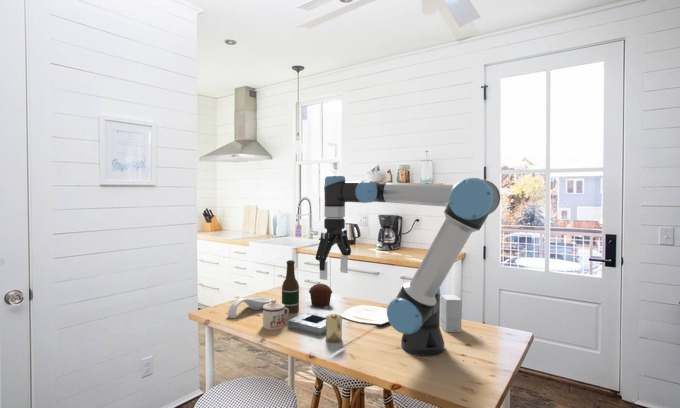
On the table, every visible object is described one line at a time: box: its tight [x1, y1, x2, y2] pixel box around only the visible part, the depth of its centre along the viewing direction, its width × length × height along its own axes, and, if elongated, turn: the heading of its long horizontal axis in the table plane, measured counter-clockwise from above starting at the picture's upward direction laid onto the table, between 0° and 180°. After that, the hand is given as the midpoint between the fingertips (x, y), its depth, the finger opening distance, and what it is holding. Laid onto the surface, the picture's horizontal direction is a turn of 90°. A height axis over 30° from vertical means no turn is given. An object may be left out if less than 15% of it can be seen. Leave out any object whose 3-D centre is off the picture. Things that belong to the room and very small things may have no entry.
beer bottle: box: [281, 259, 300, 315], centre depth 173 cm, size 8×8×24 cm
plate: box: [341, 304, 389, 326], centre depth 168 cm, size 23×23×2 cm
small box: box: [440, 294, 463, 333], centre depth 155 cm, size 8×6×13 cm
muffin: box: [308, 283, 333, 308], centre depth 186 cm, size 12×11×10 cm
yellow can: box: [325, 313, 343, 344], centre depth 140 cm, size 6×6×10 cm
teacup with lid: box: [261, 298, 290, 331], centre depth 155 cm, size 12×9×12 cm
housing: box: [287, 310, 328, 337], centre depth 154 cm, size 16×14×4 cm
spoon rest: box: [227, 297, 272, 319], centre depth 176 cm, size 24×12×7 cm, turn 151°
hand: (334, 275), depth 140 cm, fingers open, 13 cm apart
